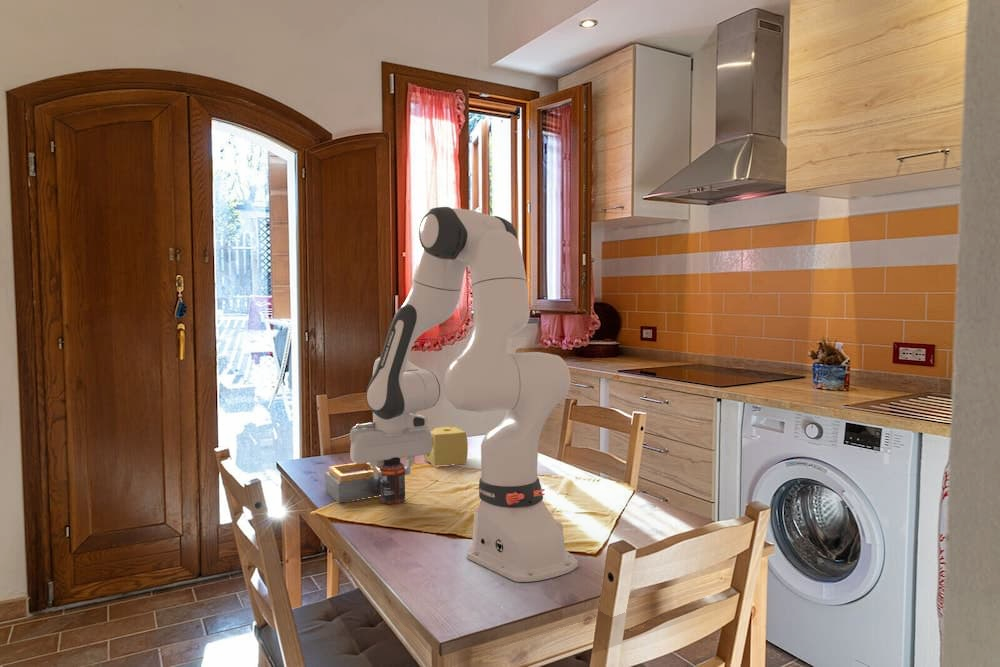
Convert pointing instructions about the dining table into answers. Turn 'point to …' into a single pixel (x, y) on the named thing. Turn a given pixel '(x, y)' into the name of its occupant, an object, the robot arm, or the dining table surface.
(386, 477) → the supplement bottle
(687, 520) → the dining table surface
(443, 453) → the cheese
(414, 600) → the dining table surface
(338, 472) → the grey wooden-rimmed box
